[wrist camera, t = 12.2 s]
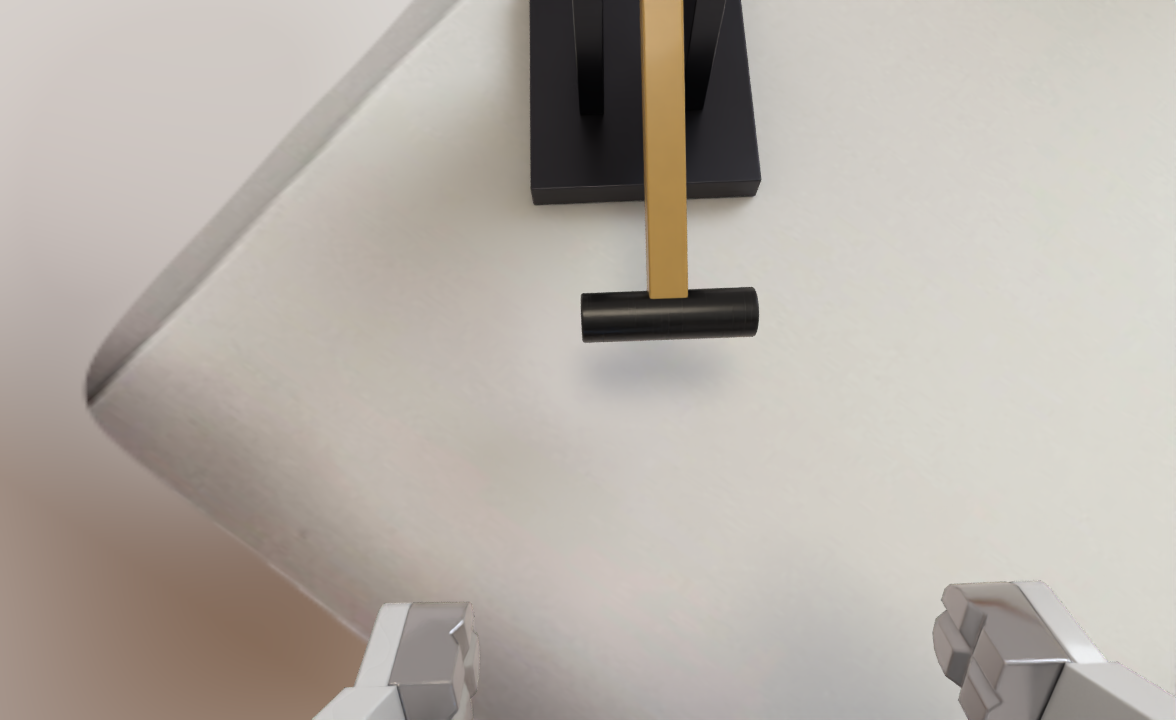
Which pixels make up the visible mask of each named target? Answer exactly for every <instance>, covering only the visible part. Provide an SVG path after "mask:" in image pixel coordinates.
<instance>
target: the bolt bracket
mask: <svg viewBox="0 0 1176 720" xmlns="http://www.w3.org/2000/svg"><path fill="white" fill-rule="evenodd" d="M683 22H684V82H685V142H686V198H711V197H736V196H755V195H756V192H757V190H758V187H759V185H760V182H761V172H760V163H759V155H758V146H757V137H756V128H755V119H754V111H753V102H752V93H751V84H750V76H749V67H748V58H747V49H746V40H745V32H744V23H743V14H742V5H741V0H683ZM530 152H531V193H532V198H533V203H534V204H535V205H536V204H561V203H586V202H611V201H636V200H645V192H644V153H643V114H642V74H641V35H640V0H530Z"/></svg>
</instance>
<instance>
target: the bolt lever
mask: <svg viewBox="0 0 1176 720" xmlns="http://www.w3.org/2000/svg"><path fill="white" fill-rule="evenodd" d="M640 35H641V74H642V114H643V153H644V192H645V232H646V271H647V291H632V292H606V293H583V294H581V325H582V340H583V342H584V343H591V342H618V341H646V340H674V339H701V338H729V337H753V336H755V335H756V332H757V329H758V323H759V304H758V297H757V293H756V291H755V289H754V288H753V287H739V288H712V289H688V261H687V202H686V142H685V82H684V22H683V0H640Z"/></svg>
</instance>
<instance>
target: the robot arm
mask: <svg viewBox="0 0 1176 720" xmlns="http://www.w3.org/2000/svg"><path fill="white" fill-rule="evenodd" d="M941 601H942V602H943V604H944V606H945V608H946V609H947V610H945V611H944V612H943V613H942V614H941V615H939V616H938V617H937V618H936V620H935V624H934V628H933V643H934V650H935V653H936V656H937V659H938V662H939V664H940V666H941V668H942V670H943V672H944V674H945V676H946V677H948V678H949V679H950V680H952V681H953V682H954V683H956V684H957V685H958V686H960V687H961V690H960V694H959V699H958V701H959V703H960V705H961V707H962V708H963V710H964V712H965V714H966V716H967V718H968V720H1176V697H1175V696H1174V695H1172V694H1170V693H1169V692H1167V691H1165V690H1164V689H1162V688H1161V687H1159V686H1157V685H1156V684H1154V683H1152V682H1151V681H1149V680H1147V679H1146V678H1144V677H1142V676H1141V675H1139V674H1137V673H1136V672H1134V671H1132V670H1131V669H1129V668H1128V667H1126V666H1124V665H1123V664H1121V663H1119V662H1108V660H1107V659H1106V658H1105V657H1104V655H1103V654H1102V653H1101V651H1100V650H1099V649H1098V648H1097V646H1096V645H1095V644H1094V643H1093V641H1092V640H1091V639H1090V638H1089V636H1088V635H1087V634H1086V632H1085V631H1084V630H1083V629H1082V627H1081V626H1080V625H1079V624H1078V622H1077V621H1076V620H1075V618H1074V617H1073V616H1072V615H1071V613H1070V612H1069V611H1068V610H1067V608H1066V607H1065V606H1064V604H1063V603H1062V602H1061V601H1060V599H1059V598H1058V597H1057V596H1056V594H1055V593H1054V592H1053V591H1052V589H1051V588H1050V587H1049V586H1048V585H1047V584H1045V583H1044V582H1042V581H1041V580H1038V581H1012V582H1005V581H1004V582H983V583H962V584H949V585H948V586H947V587H946V588H945V589H944V592H943V595H942V599H941ZM474 617H475V616H474V611H473V606H472V603H471V602H413V603H384V604H383V606H382V607H381V608H380V610H379V611H378V614H377V617H376V620H375V623H374V626H373V629H372V632H371V635H370V638H369V641H368V644H367V647H366V650H365V654H364V657H363V660H362V663H361V666H360V669H359V673H358V675H357V678H356V681H355V684H354V687H348V688H344V689H343V690H342V691H341V692H340V693H339V694H338V695H337V696H335V697H334V699H332V700H331V701H330V702H329V703H328V704H327V705H326V706H325V707H324V708H323V709H322V710H321V711H320V712H319V713H318V714H317V715H316V716H315V717H314V718H313V719H312V720H473V711H472V705H471V700H470V699H471V698H472V697H473V696H474V694H475V693H476V692H477V689H478V681H479V671H480V647H479V639H478V634H477V633H476V632H474V631H473V623H474Z"/></svg>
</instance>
